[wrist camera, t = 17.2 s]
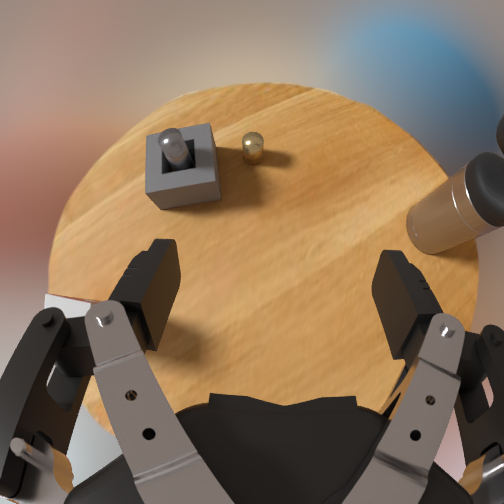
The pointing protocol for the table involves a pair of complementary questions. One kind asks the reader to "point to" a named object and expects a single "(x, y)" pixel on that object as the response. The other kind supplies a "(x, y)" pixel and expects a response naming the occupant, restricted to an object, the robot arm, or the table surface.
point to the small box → (69, 304)
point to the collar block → (183, 171)
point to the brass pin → (253, 148)
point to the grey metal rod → (175, 149)
